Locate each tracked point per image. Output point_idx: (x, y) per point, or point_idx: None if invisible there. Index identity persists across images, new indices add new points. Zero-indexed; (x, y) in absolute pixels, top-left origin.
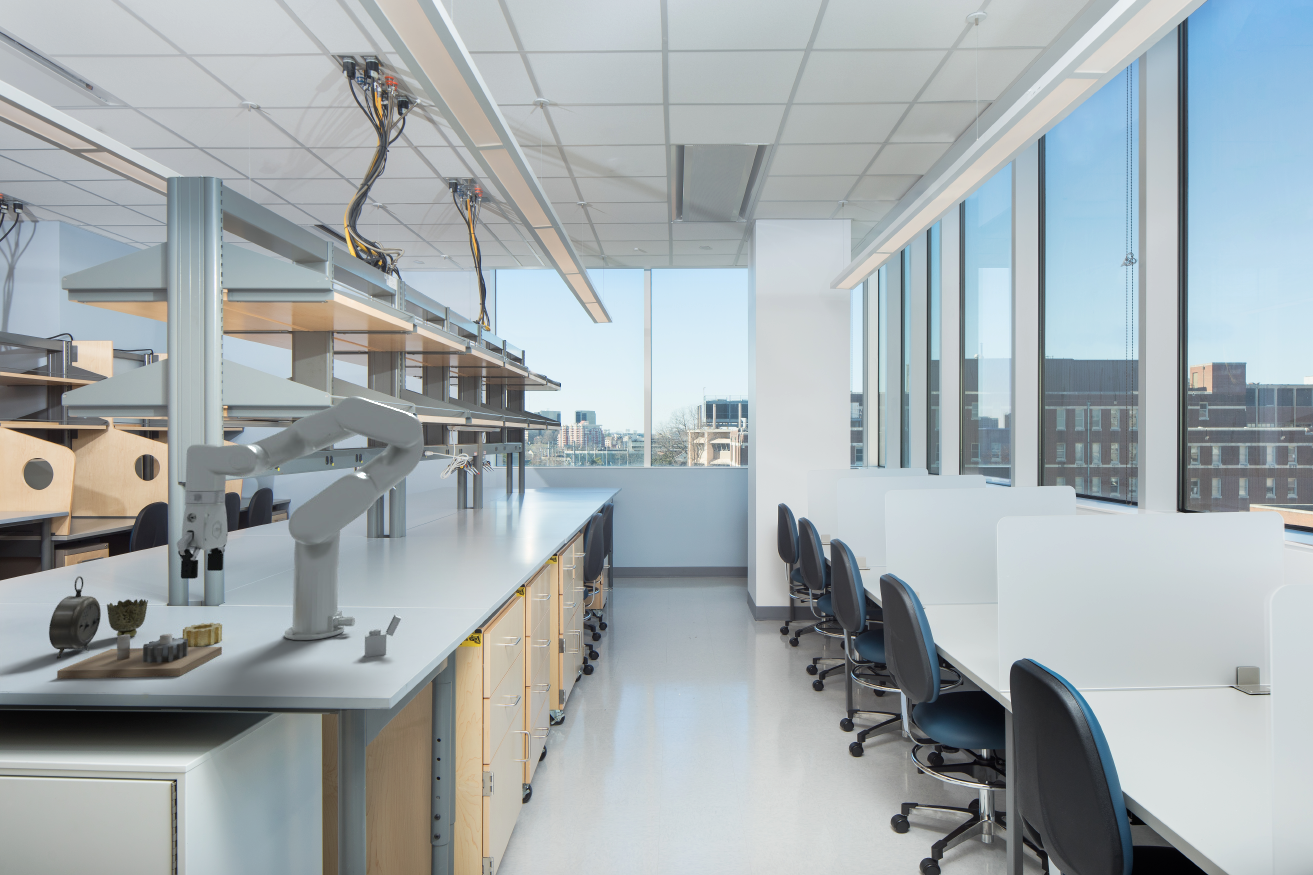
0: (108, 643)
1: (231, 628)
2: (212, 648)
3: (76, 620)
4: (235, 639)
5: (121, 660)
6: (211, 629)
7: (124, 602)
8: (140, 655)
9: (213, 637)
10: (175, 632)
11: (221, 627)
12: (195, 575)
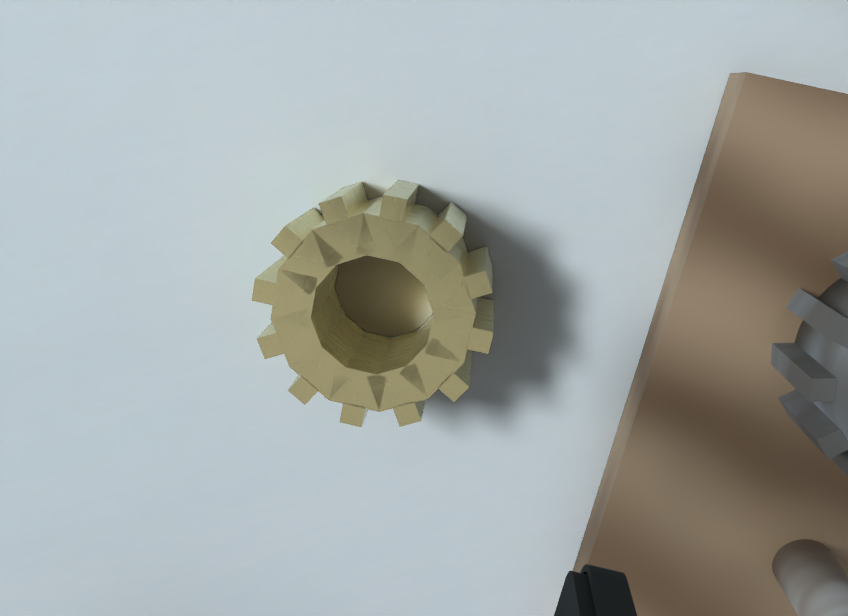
0: None
1: (53, 212)
2: (771, 124)
3: None
4: (359, 95)
5: (845, 559)
6: (460, 233)
7: None
8: (772, 500)
9: (451, 211)
10: (108, 504)
11: (346, 196)
12: (625, 601)
